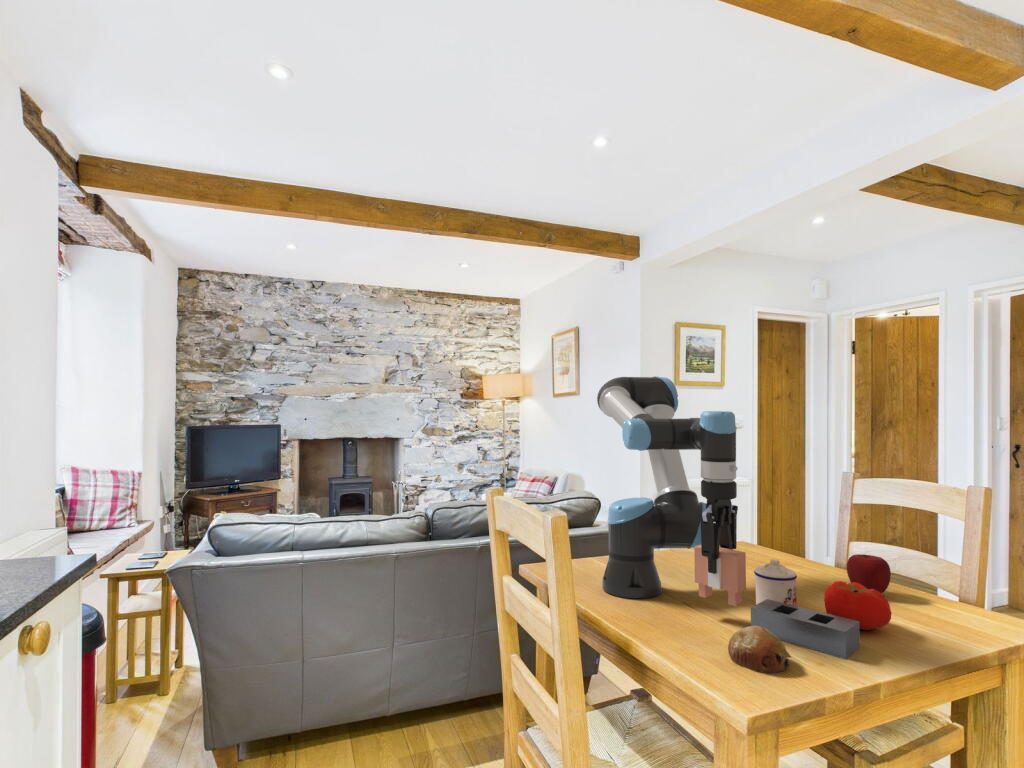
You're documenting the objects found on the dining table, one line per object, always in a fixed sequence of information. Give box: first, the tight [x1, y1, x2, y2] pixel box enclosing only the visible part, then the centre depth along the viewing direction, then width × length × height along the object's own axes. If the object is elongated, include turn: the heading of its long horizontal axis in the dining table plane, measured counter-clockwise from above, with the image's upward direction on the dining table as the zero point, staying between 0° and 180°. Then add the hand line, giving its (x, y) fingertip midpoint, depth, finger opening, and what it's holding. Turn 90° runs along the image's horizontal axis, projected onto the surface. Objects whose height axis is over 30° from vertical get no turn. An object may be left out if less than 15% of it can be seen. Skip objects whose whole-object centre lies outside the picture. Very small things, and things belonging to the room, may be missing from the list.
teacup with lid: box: [753, 558, 798, 606], centre depth 131 cm, size 12×9×12 cm
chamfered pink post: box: [693, 545, 747, 607], centre depth 124 cm, size 10×4×11 cm, turn 42°
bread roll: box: [727, 625, 792, 674], centre depth 104 cm, size 10×10×8 cm
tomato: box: [823, 580, 892, 631], centre depth 120 cm, size 14×13×9 cm
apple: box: [846, 553, 892, 594], centre depth 142 cm, size 10×10×10 cm
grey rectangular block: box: [750, 599, 861, 660], centre depth 114 cm, size 18×8×5 cm, turn 42°
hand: (719, 584), depth 124 cm, fingers closed on chamfered pink post, 4 cm apart
